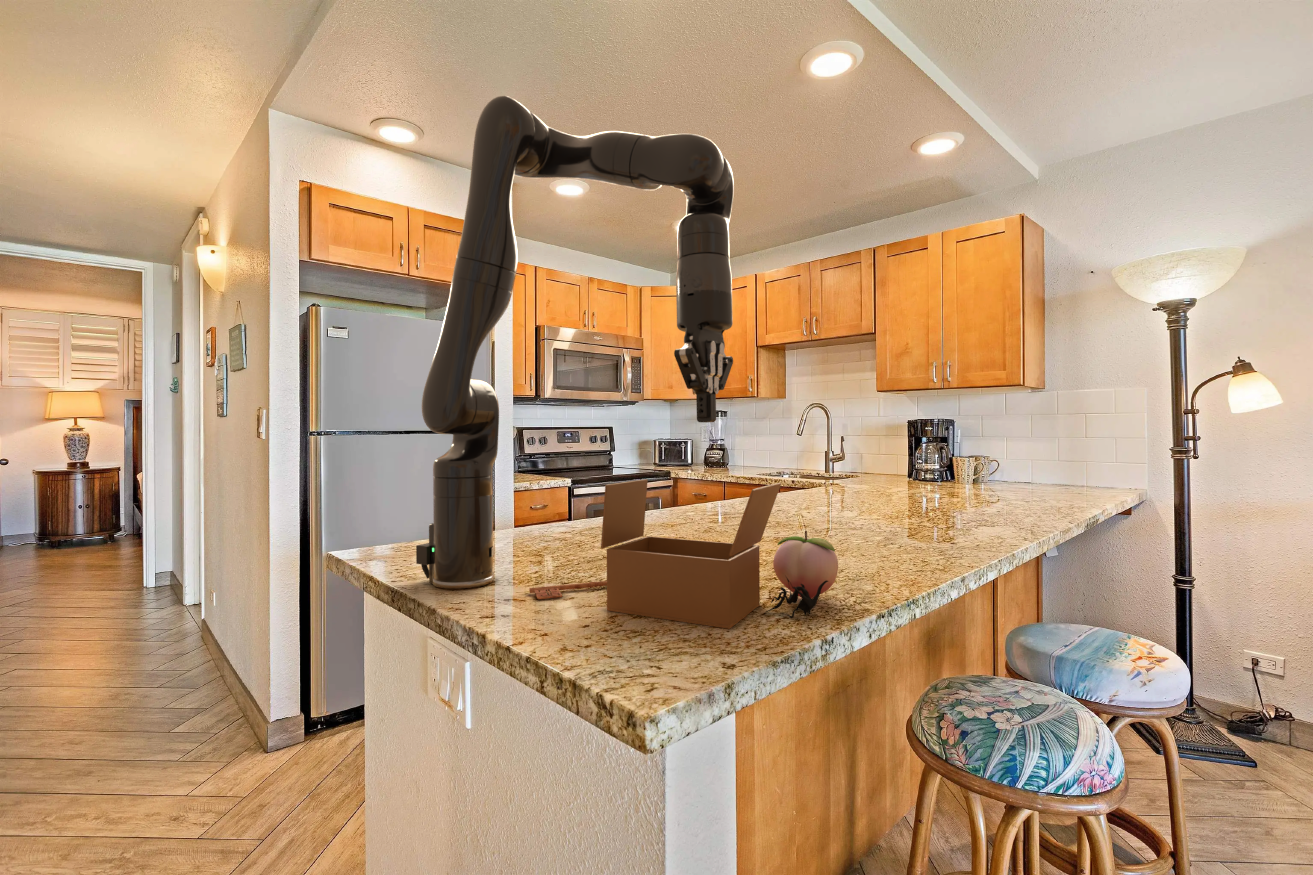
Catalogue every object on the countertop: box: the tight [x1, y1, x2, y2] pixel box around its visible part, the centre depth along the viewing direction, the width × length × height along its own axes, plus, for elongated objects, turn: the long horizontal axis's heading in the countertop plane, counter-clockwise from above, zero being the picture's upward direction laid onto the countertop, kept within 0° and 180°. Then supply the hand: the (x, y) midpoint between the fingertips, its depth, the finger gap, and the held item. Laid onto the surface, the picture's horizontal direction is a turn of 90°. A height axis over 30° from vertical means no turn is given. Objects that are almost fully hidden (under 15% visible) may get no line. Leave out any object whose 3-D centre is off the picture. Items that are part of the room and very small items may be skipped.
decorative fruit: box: [772, 530, 839, 599], centre depth 89 cm, size 9×8×10 cm
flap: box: [729, 482, 782, 556], centre depth 80 cm, size 9×12×1 cm
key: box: [528, 579, 607, 600], centre depth 94 cm, size 6×1×15 cm
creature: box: [764, 575, 828, 619], centre depth 82 cm, size 8×5×8 cm
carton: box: [600, 478, 761, 630], centre depth 85 cm, size 19×12×17 cm, turn 63°
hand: (706, 422), depth 83 cm, fingers closed
